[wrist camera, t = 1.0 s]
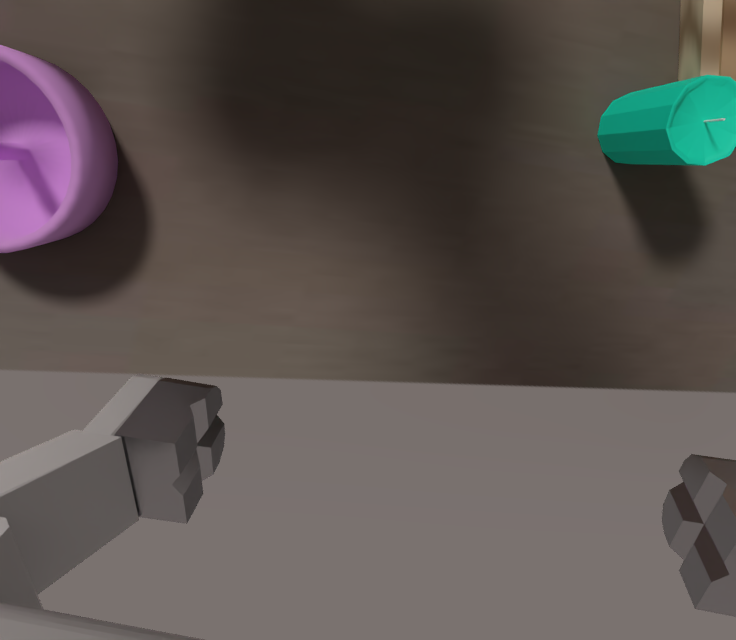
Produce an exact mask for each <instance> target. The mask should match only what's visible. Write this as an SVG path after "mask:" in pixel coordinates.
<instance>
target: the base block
mask: <svg viewBox="0 0 736 640" xmlns="http://www.w3.org/2000/svg"><path fill="white" fill-rule="evenodd" d="M704 75H717V76H728V77H731V78H732V79H733V80H735V81H736V0H681V9H680V38H679V68H678V81H682V80H686V79H691V78H695V77H699V76H704Z"/></svg>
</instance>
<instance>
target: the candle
mask: <svg viewBox="0 0 736 640" xmlns="http://www.w3.org/2000/svg"><path fill="white" fill-rule="evenodd" d="M597 136H598V139H599V142H600V145H601V148H602V152H603V153H604V154H606V155H607V156H608V157H609V158H610V159H612V160H613V161H614V162H615V163H624V164H646V165H704V166H705V165H708V164H710V163H713V162H715V161H718V160H720V159H723V158H725V157H728V156H730V154H731V153H732V151H733V150H734V148H735V147H736V81H735V80H733V79H732V78H731V77H728V76H717V75H704V76H699V77H695V78H691V79H686V80H682V81H678V82H674V83H669V84H665V85H661V86H657V87H652V88H648V89H644V90H640V91H635V92H631V93H629V94H626V95H624V96H622V97H620V98H618V99H616V100H614V101H613V102H612V103H611V104H610V106H609V107H608V108H607V110H606V111H605V112H604V113H603V115H602V116H601V120H600V125H599V130H598V135H597Z"/></svg>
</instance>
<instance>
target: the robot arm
mask: <svg viewBox="0 0 736 640" xmlns="http://www.w3.org/2000/svg"><path fill="white" fill-rule="evenodd" d="M221 406H222V397H221V390H220V389H219V388H218V387H217V386H213V385H207V384H201V383H195V382H189V381H183V380H177V379H171V378H162V377H157V376H151V375H144V374H137V375H134V376H132V377H131V378H130V379H129V380H128V381H127V382H126V383H125V384H124V386H123V387H122V388H121V389H120V390H119V391H118V392H117V393H116V394H115V395H114V396H113V398H112V399H111V400H110V401H109V402H108V403H107V404H106V405H105V406H104V407H103V408H102V410H101V411H100V412H99V413H98V414H97V415H96V416H95V417H94V418H93V419H92V421H91V422H90V423H89V424H88V425H87V426H86V427H85V428H84V429H83V430H82V431H80V430H72V431H70V432H67V433H65V434H63V435H60V436H58V437H56V438H53V439H51V440H49V441H47V442H45V443H42V444H40V445H37V446H35V447H33V448H31V449H28V450H26V451H24V452H21V453H19V454H17V455H15V456H12V457H10V458H8V459H5V460H3V461H1V462H0V640H203V639H198V638H193V637H188V636H182V635H177V634H171V633H166V632H161V631H155V630H150V629H145V628H139V627H134V626H128V625H123V624H118V623H113V622H107V621H102V620H96V619H91V618H86V617H81V616H75V615H70V614H64V613H59V612H54V611H49V610H44V609H43V607H42V604H41V602H40V599H39V597H38V594H39V593H40V592H42V591H43V590H45V589H46V588H47V587H49V586H50V585H51V584H53V583H54V582H55V581H57V580H58V579H59V578H61V577H62V576H64V575H65V574H66V573H68V572H69V571H70V570H72V569H73V568H74V567H76V566H77V565H78V564H80V563H81V562H82V561H84V560H85V559H87V558H88V557H89V556H90V555H92V554H93V553H95V552H96V551H97V550H99V549H100V548H101V547H103V546H104V545H106V543H108V542H110V541H111V540H112V539H114V538H115V537H116V536H118V535H119V534H120V533H122V532H123V531H124V530H126V529H127V528H129V527H130V526H131V525H133V524H134V523H135V522H137V521H138V520H139V517H143V518H150V519H157V520H165V521H172V522H180V523H188V521H189V519H190V517H191V515H192V513H193V512H194V510H195V508H196V506H197V504H198V502H199V500H200V498H201V496H202V495H203V487H202V481H203V480H205V479H206V478H208V477H210V476H211V475H213V474H214V472H215V470H216V468H217V466H218V464H219V462H220V458H221V455H222V451H223V448H224V439H225V428H224V423H223V422H222V420H221V419H220V418H219V417H218V416H217V413H218V411H219V409H220V408H221ZM679 473H680V475H681V477H682V479H683V483H681V484H679V485H678V486H676V487H674V488H672V489H671V490H669V492H668V495H667V497H666V499H665V502H664V504H663V515H662V523H663V529H664V534H665V536H666V539H667V541H668V544H669V547H671V548H672V549H673V550H674V551H675V552H676V553H677V554H678V555H679V556H680V557H681V558H682V559H684V561H683V564H682V566H681V568H680V570H679V571H680V574H681V576H682V578H683V581H684V583H685V586H686V588H687V590H688V593H689V595H690V597H691V600H692V602H693V605H694V607H695V609H698V610H704V611H709V612H714V613H719V614H725V615H729V616H734V617H736V460H730V459H722V458H715V457H708V456H701V455H693V454H691V455H690V456H689V457H688V458H687V459H685V461H684V462H683V464H682V466H681V468H680V470H679Z"/></svg>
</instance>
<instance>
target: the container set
mask: <svg viewBox="0 0 736 640" xmlns="http://www.w3.org/2000/svg"><path fill="white" fill-rule="evenodd" d="M117 170H118V156H117V149H116V142H115V139H114V136H113V133H112V129H111V126H110V124H109V122H108V120H107V118H106V116H105V114H104V112H103V110H102V108H101V107H100V105H99V104H98V103H97V101H96V100H95V99H94V97H93V96H92V95H91V93H90V92H89V91H88V90H87V89H86V88H85V87H84V86H83V85H82V84H81V83H80V82H79V81H78V80H76V79H75V78H74V77H73V76H72V75H70V74H69V73H67V72H66V71H64V70H63V69H61V68H59V67H58V66H56V65H54V64H52V63H50V62H47V61H45V60H43V59H40V58H38V57H35V56H32V55H29V54H26V53H23V52H20V51H17V50H14V49H11V48H8V47H5V46H2V45H0V253H9V252H14V251H19V250H24V249H28V248H32V247H35V246H39V245H43V244H46V243H50V242H54V241H57V240H61V239H64V238H67V237H70V236H72V235H74V234H77V233H79V232H81V231H82V230H84V229H85V228H87V227H88V226H89V225H91V224H92V223H93V222H94V221H95V220H96V219H97V218H98V217H99V216H100V215H101V213H102V212H103V211H104V210H105V208H106V206H107V204H108V202H109V201H110V199H111V197H112V195H113V191H114V187H115V184H116V180H117Z"/></svg>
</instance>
